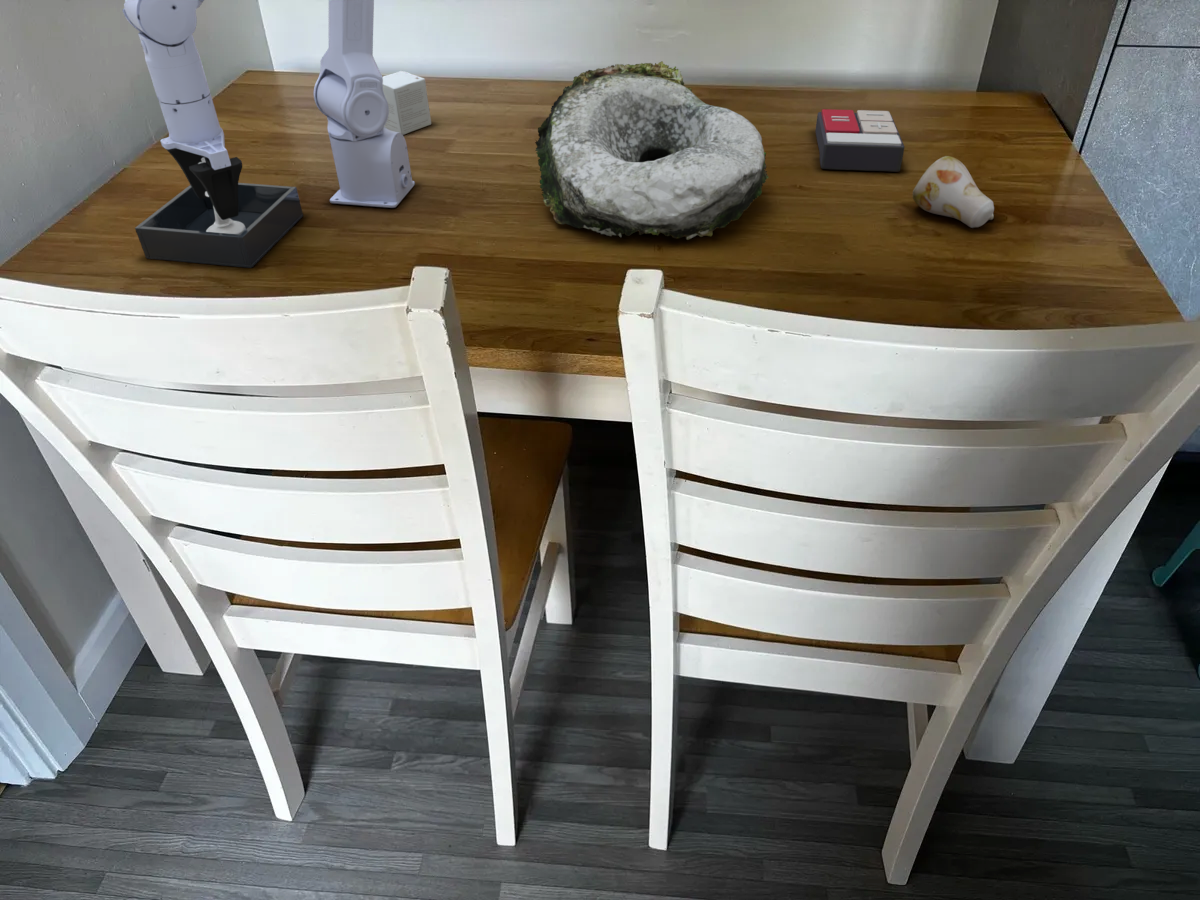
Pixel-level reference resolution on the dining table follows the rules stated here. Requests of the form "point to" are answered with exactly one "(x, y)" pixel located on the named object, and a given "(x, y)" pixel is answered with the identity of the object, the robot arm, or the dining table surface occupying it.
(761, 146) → the stone basin
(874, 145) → the calculator
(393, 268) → the dining table surface
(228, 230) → the chess piece
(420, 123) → the product box
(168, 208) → the square open tray
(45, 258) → the dining table surface
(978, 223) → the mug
